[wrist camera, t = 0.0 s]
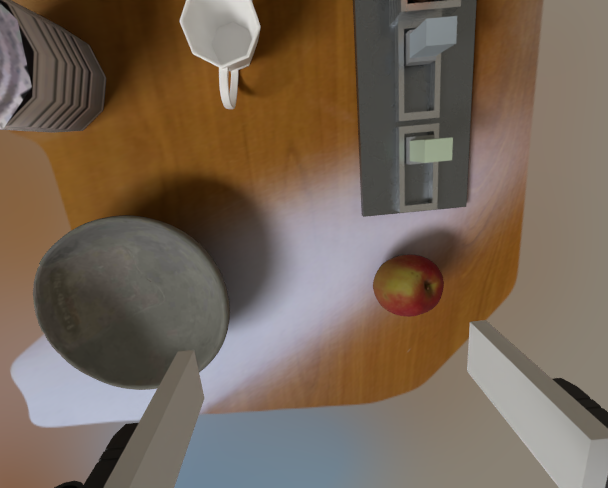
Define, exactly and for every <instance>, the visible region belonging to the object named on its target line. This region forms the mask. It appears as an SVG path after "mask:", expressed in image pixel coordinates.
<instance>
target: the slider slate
mask: <svg viewBox="0 0 608 488" xmlns="http://www.w3.org/2000/svg"><path fill="white" fill-rule="evenodd" d="M456 37H457V16H451V17H440V18H429V19H426V20H425V21H424V22H422V23H421V24H420V25H419V26H418V27H417V28H416V29H415V30H409V31H408V32H407V33H406V34H405V35H404V66H414V65H425V64H430V63H432V62H434V61H435V60H436V56H437V55H438V54H440V53H442V52H443V51H445V50H446V49H448V48H450V47H451V46H453V45H454V44H456Z"/></svg>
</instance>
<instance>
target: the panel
mask: <svg viewBox="0 0 608 488" xmlns="http://www.w3.org/2000/svg"><path fill="white" fill-rule="evenodd" d="M353 14H354V38H355V63H356V87H357V111H358V135H359V159H360V183H361V208H362V216H363V217H364V216H375V215H385V214H395V213H406V212H416V211H426V210H436V209H447V208H457V207H466V202H467V181H468V161H469V141H470V121H471V100H472V80H473V60H474V40H475V19H476V0H435V1H434V2H423V3H415V2H414V1H413V0H353ZM451 16H457V37H456V44H454V45H453V46H451V47H450V48H448V49H446V50H445V51H443V52H442V53H440V54H438V55H437V56H436V60H435V61H434V62H432V63H430V64H425V65H414V66H404V35H405V34H406V33H407V32H408V31H409V30H415V29H416V28H417V27H418V26H419V25H420V24H421V23H422V22H424V21H425V20H426V19H429V18H440V17H451ZM425 135H435V137H434V138H453V149H452V160H449V161H439V162H432V163H421V164H411V165H409V164H404V137H415V136H425Z"/></svg>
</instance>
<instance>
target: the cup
mask: <svg viewBox="0 0 608 488" xmlns="http://www.w3.org/2000/svg"><path fill="white" fill-rule="evenodd" d="M180 24H181V26H182V29H183V31H184V34H185V36H186V38H187V41H188V43H189V46H190V48H191V51H192V53H193V54H194V55H196V56H198V57H200V58H202V59H204V60H206V61H208V62H210V63H211V64H213V65H215V66H217V67H219V85H220V94H221V99H222V102H223V105H224V107H225V108H226V109H234V108H235V105H236V99H237V90H238V70H240V69H243V68H245V67H248V66H249V65H250V62H251V60H252V57H253V54H254V52H255V48H256V46H257V43H258V38H259V33H260V28H261V26H260V23H259V20H258V17H257V15H256V12H255V9H254V6H253V3H252V0H186V3H185V6H184V9H183V12H182V15H181V18H180ZM228 71H231V86H230V94H229V89H228Z"/></svg>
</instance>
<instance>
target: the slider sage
mask: <svg viewBox="0 0 608 488" xmlns="http://www.w3.org/2000/svg"><path fill="white" fill-rule="evenodd" d="M434 137H435V135H425V136H415V137H404V164H409V165H411V164H421V163H432V162H439V161H449V160H452V149H453V138H434Z"/></svg>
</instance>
